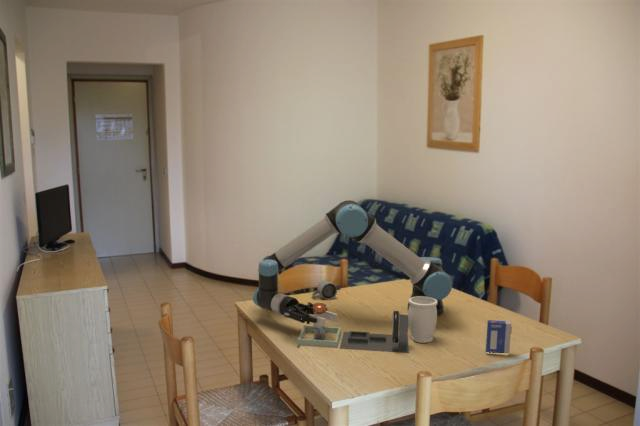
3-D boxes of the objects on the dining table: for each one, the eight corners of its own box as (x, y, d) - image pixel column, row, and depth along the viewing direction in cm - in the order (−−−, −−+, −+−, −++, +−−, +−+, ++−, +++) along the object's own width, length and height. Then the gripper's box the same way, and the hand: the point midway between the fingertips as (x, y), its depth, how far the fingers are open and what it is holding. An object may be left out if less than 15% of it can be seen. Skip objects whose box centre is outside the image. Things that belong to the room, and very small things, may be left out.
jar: (418, 346, 208) (420, 306, 205) (401, 336, 217) (402, 298, 214) (441, 341, 213) (443, 302, 210) (424, 332, 222) (426, 294, 219)
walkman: (486, 354, 202) (488, 321, 200) (485, 351, 204) (487, 318, 202) (510, 356, 200) (512, 323, 198) (508, 353, 203) (511, 320, 201)
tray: (340, 335, 218) (340, 327, 217) (336, 349, 204) (337, 341, 203) (303, 332, 219) (303, 325, 219) (297, 347, 206) (297, 339, 205)
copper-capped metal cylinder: (326, 336, 214) (326, 303, 211) (325, 342, 209) (325, 308, 206) (313, 335, 214) (313, 302, 211) (312, 341, 210) (311, 307, 207)
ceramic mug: (331, 293, 268) (330, 277, 266) (337, 299, 260) (337, 282, 259) (309, 296, 264) (309, 280, 263) (315, 301, 256) (314, 285, 255)
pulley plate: (407, 338, 215) (409, 303, 213) (408, 355, 200) (410, 318, 198) (343, 334, 219) (344, 299, 216) (339, 351, 203) (340, 314, 201)
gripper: (302, 309, 230) (347, 323, 214) (267, 321, 216) (312, 337, 200) (302, 290, 228) (347, 304, 213) (267, 301, 215) (312, 316, 199)
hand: (330, 320), depth 207 cm, fingers open, 6 cm apart
